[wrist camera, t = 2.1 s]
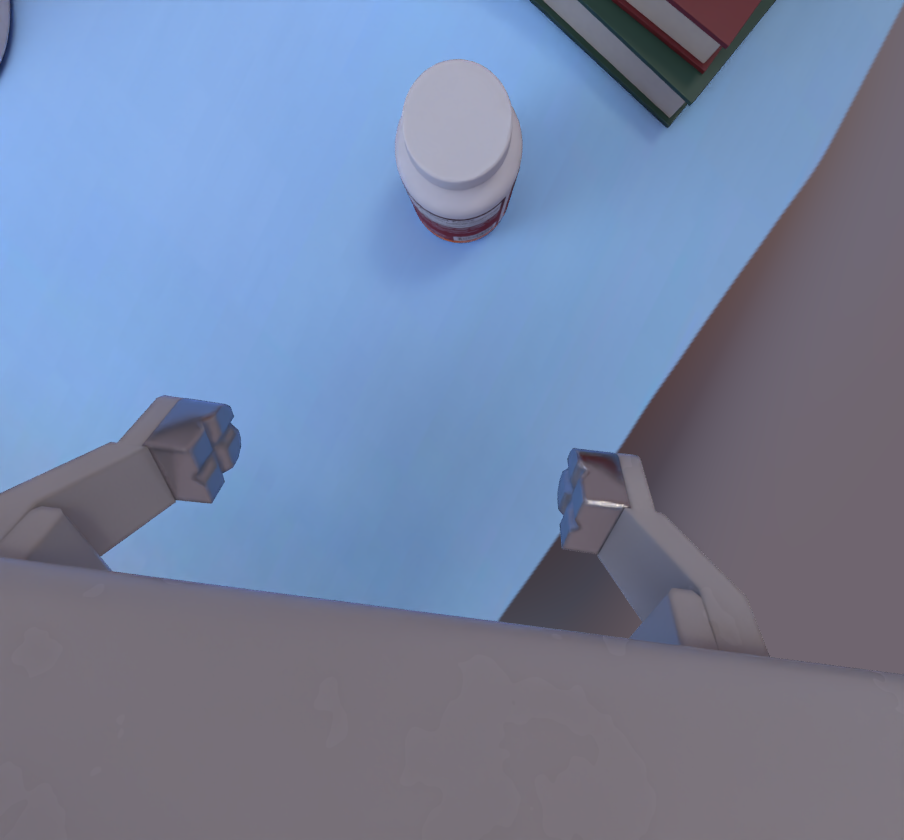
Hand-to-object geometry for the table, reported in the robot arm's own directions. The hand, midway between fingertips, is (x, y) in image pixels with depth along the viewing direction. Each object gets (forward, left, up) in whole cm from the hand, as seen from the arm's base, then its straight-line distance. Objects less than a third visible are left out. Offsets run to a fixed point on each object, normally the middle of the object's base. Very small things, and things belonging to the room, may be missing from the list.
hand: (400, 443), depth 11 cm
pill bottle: (-8, +8, -22) cm, 24 cm away
